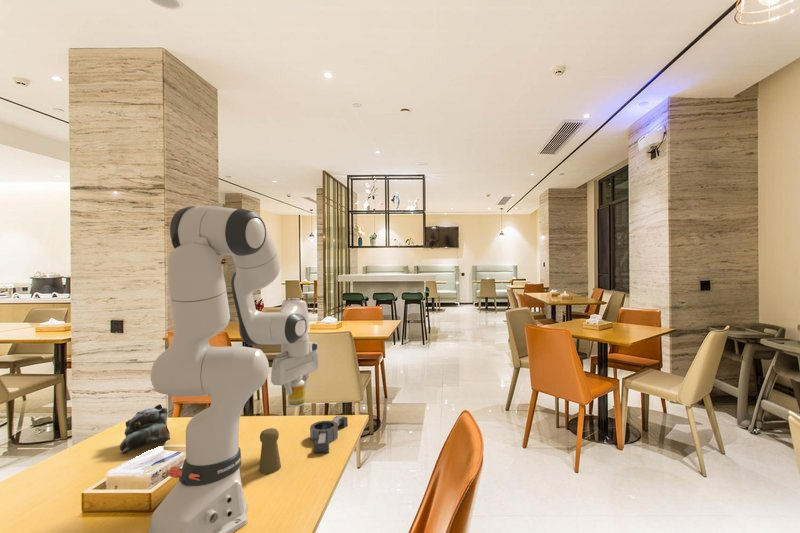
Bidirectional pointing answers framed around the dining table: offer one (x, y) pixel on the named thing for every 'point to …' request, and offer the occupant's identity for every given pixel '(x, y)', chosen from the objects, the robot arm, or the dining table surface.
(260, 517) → the dining table surface
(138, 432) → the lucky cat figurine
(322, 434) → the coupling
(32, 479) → the dining table surface
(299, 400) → the supplement bottle
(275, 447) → the olive pawn figure
